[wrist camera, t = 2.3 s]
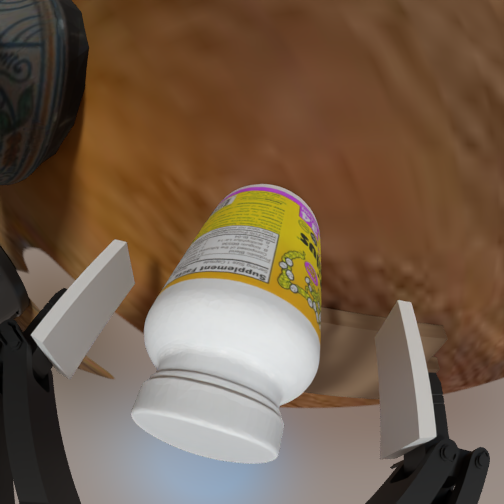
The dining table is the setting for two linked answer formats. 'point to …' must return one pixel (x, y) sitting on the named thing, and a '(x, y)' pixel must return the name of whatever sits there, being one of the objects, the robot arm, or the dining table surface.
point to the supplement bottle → (236, 329)
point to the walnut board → (359, 353)
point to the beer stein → (38, 81)
